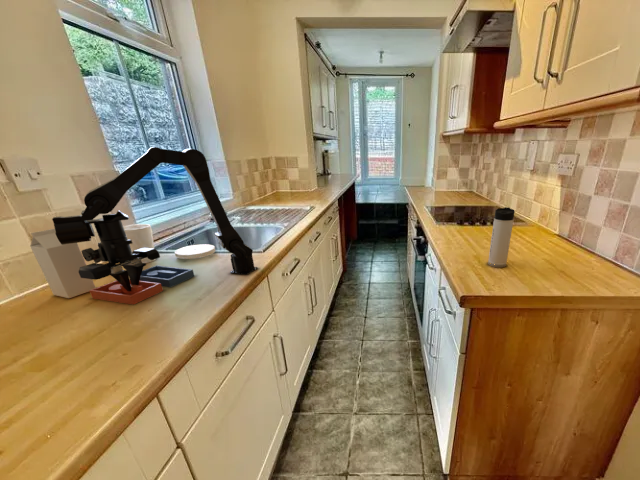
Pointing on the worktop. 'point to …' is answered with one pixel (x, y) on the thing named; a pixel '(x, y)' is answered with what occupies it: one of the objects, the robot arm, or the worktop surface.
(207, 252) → the plastic lid
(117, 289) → the terracotta spoon
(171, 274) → the blue spoon
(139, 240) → the foam cup
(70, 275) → the milk carton
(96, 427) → the worktop surface
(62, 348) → the worktop surface
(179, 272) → the blue tray
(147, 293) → the terracotta tray
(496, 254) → the travel mug
